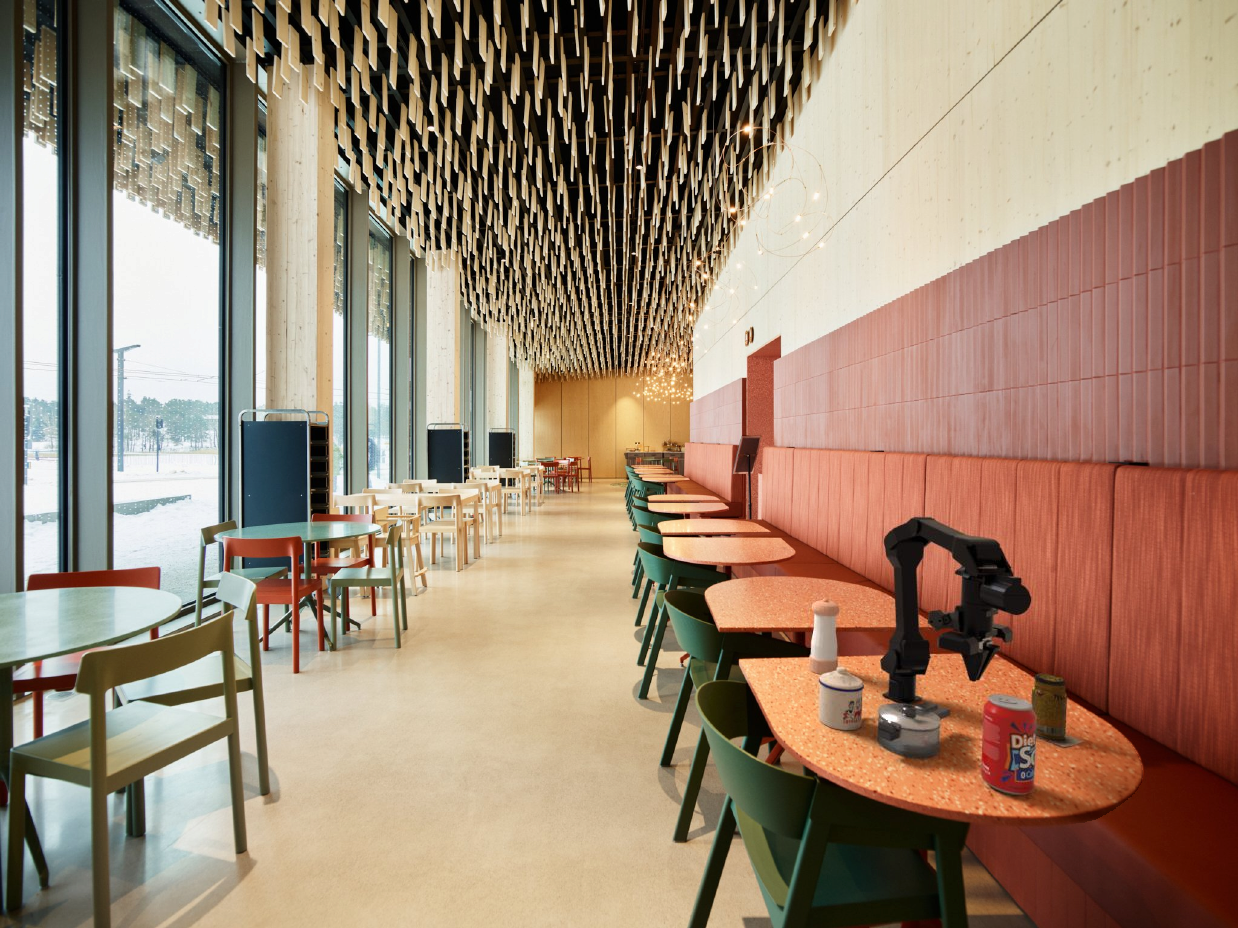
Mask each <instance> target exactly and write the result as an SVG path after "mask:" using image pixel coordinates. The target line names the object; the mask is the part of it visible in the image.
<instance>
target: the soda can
mask: <svg viewBox="0 0 1238 928" xmlns="http://www.w3.org/2000/svg"><path fill="white" fill-rule="evenodd" d="M987 699H988V700H987V701H986V702H984V705H983V710H982V711H983V713H982V714H983V715H982V735H981V736H982V737H981V739H982V740H981V762H980V763H981V764H980V767H981V768H980V777H981V779H982V780H983V781H984V782H985V783H986V784H987V785H989V786H990V787H992V788H993V789H995V790H996V791H999V792H1001V793H1004V794H1007V795H1013V796H1022V795H1027V794H1031V793H1032V792H1034V788H1035V778H1036V777H1035V774H1036V749H1037V746H1036V745H1037V737H1036V728H1037V716H1036V714H1035V712H1034V711H1033V709H1032V704H1031V703H1032V702H1029V700H1025V699H1023V698H1020V697H1017V696H1013V695H1008V694H1003V693H1002V694H1000V693H998V694H997V693H995V694H990V695H989V696H988V698H987Z"/></svg>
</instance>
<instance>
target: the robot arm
mask: <svg viewBox="0 0 1238 928" xmlns="http://www.w3.org/2000/svg"><path fill="white" fill-rule="evenodd" d="M931 543H933V544H934V545H937V546H938V547H941V548H943V549H944V550H947V551H948V552H949V553H950V554H951V557H952V559H953V560H954V561H955V562H956V563H958V564H960V567H959V568H958V569H956V570H955V571H954V574H955V575H956V576H959V577H961V587H960V589H961V591H960V604H957V605H956V606H955V607H954V610H953V611H945V612H943V611H942V609H937V610H935V609H933V610H930V611H929V612H928V616H927V618H928V619H927V624H928V625H929V626H930V627H932V628H933V631H935V632H939V631H940V630H945V629H952V630H950V631H946V632H943V633H941V634H940V635H939V636H937V640H936V641H937V643H936V645H937V647H938V648H939V649H942V650H946V651H950V652H953V653H958V654H960V655H961V657H962V658H961V659H962V660H963V664H964V667H965V671H966V673H967V676H968V680H969V681H970V682H973V683H975V682H977V681H980V679H981V678H982V676H983V675H984V673H985V671H986V670H987V668H988V666H989V665H990V663H991V661H992V660H993V659H994V657H995V655H996V654H997V652H998V651H999V650H1000V649H1001V646H1000V645H998V644H994V641H993V640H992V638H998V639H1002V641H1003V643H1005V644H1006V643H1008V644H1009V643H1011V642H1013V640H1014V638H1013V637H1014V636H1013V635H1014V631H1013V630H1012V629H1011V627H1009V625H1004V624H999V623H995V622H994V616H995V615H998V614H999V611H1001V612H1004V613H1007V614H1009V615H1011V616H1012V615H1013V616H1020V615H1023V614H1025V613H1026V612H1027V611H1028V610H1029V608H1030V606H1031V604H1032V596H1031V593H1030V591H1029V589H1028V588H1027V587H1026V586H1025V585H1023V584H1022V582H1023V580H1022V577H1019V576H1014V572H1013V570H1012V566H1011V565H1010V563H1009V562H1008V559H1007V557H1006V555H1005V553H1004V551H1003V549H1002V547H1001V543H999V542H998V541H997V540H996V539H994V538H989V537H984V536H976V535H971V534H970V535H969V534H966V533H963V532H961V531H959V530H957V529H954V528H953V527H950V526H949V525H947V524H945V523H941V522H939V521H937V520H936V518H933V517H932V516H914V517H911V518H910V519H908V520H907V521H906V522H904V523H902V524H899V525H897V526H896V527H893V528H892V529H891V530H889V531H888V532H887V534H886V535H885V536H884V538H883V545H884V551H885V557H886V559H887V560H888V561H889V563H890V564H891V566H892V567H893V579H894V580H893V582H894V583H893V585H894V609H895V611H894V612H895V631H894V632H893V634H892V635H891V637H890V638H889V641H888V651H886V653H885V654H884V655H883V656H882V657H881V658H880V659H879V661H880V662H879V663H880V669H881V670H882V671H883V672H885V673H887V674H888V689H887V690H888V691H887V692H884V693H881V694H882V697H883V698H886V699H890V700H892V701H895V702H897V703H901V704H909V705H913V704H915V703H918V702H920V701H922V700H923V697H922V696H919V695H917V676H919V675H922V676H926V674H927V670H928V668H929V665H930V660H931V658H932V657H931V654H930V646H931V644H930V641H929V640H928V639H925V638H924V636H923V635H922V633H921V631H920V618H919V617H920V616H919V615H920V614H919V599H918V598H919V595H918V592H919V591H918V573H917V572H918V566H919V565H920V563H921V562H922V560H923V559H924V555H925V554H924V552H925V548H926V547H927V546H928V545H930V544H931Z"/></svg>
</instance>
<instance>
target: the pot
mask: <svg viewBox="0 0 1238 928" xmlns="http://www.w3.org/2000/svg"><path fill="white" fill-rule="evenodd" d="M937 705H938V709H937V710H935V711H933V713H935V714H936V715H937V716H938V717H939V718H940V720H943V719H945V718H948V717H950V715H951V708H949V707H945V706H942V705H940V704H937ZM877 724H878V725H877V742H878V743H879V745H880V746H881V747H882V748H884V749H885V750H887V751H889V752H891V753H893V754H895V755H899V756H902V757H905V758H911V759H919V760H920V759H921V760H925V759H932V758H935V757H937V756H938V755H939V753H940V740H941V739H940V735H941V726H940V727H939V728H938V729H936V730H932V731H914V730H908V729H903V728H900V729H897V727H896V726H893V725H891V724H888V723H886V722H883V720H882V719H881V718H880V717H879V716H878V723H877Z"/></svg>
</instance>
